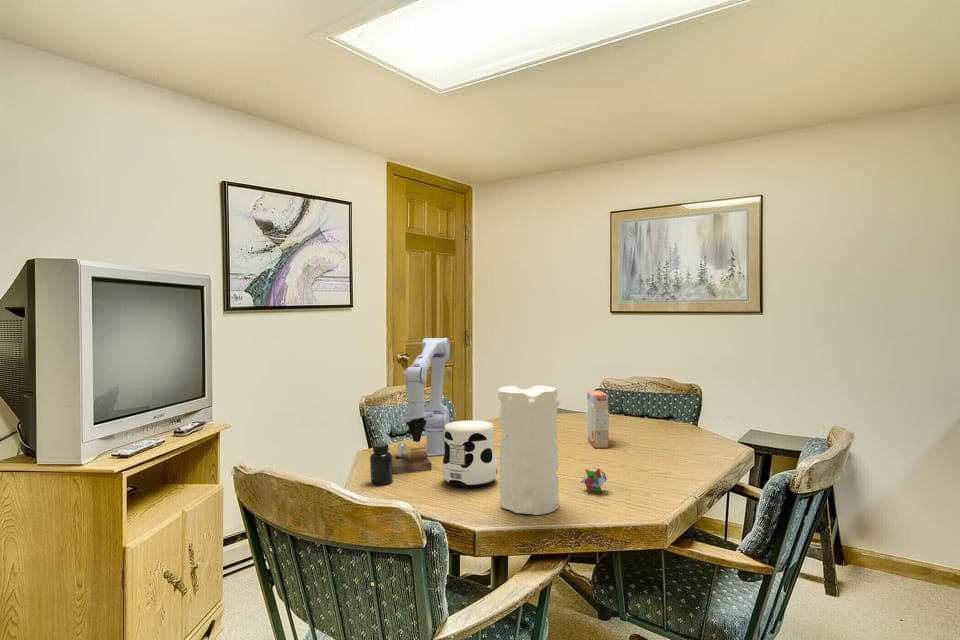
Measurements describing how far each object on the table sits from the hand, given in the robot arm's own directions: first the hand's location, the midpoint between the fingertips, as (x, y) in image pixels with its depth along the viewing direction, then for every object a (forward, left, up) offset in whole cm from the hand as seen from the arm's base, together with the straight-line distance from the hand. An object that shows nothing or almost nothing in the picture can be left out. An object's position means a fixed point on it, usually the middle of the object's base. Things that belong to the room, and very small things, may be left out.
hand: (416, 441), depth 184 cm
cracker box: (-75, -8, -10) cm, 76 cm away
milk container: (-12, +21, -10) cm, 26 cm away
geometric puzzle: (-43, +43, -10) cm, 62 cm away
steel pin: (+4, -8, -9) cm, 13 cm away
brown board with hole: (+3, -5, -9) cm, 11 cm away
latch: (0, 0, -5) cm, 5 cm away
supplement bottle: (+14, +11, -10) cm, 20 cm away
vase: (-21, +47, -10) cm, 53 cm away
